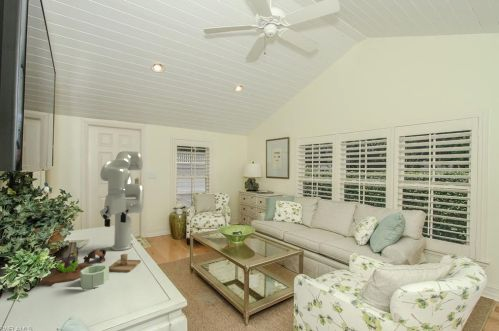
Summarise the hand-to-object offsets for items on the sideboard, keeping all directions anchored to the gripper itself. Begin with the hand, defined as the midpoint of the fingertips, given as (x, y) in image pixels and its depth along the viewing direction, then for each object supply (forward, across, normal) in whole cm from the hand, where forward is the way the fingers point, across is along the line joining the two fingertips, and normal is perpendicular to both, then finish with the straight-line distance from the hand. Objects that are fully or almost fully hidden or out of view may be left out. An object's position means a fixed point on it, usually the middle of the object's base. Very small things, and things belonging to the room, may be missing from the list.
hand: (115, 224), depth 127 cm
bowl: (+23, +15, +5) cm, 28 cm away
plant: (+24, +14, -14) cm, 31 cm away
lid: (+22, -1, +5) cm, 23 cm away
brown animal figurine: (+23, -2, -15) cm, 28 cm away
